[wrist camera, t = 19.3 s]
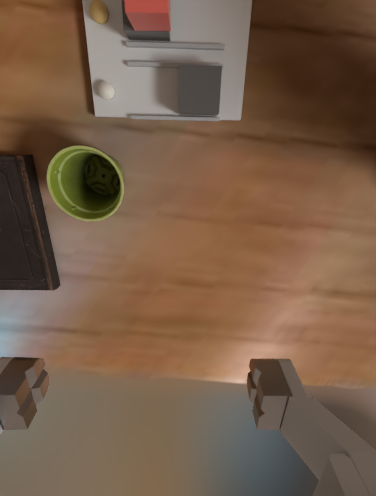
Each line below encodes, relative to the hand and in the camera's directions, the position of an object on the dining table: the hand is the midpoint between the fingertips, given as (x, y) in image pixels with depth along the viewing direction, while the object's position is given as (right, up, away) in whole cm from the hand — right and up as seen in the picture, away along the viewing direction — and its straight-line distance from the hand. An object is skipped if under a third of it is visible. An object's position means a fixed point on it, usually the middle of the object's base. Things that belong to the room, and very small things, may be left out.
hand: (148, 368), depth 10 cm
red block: (-2, +31, +18) cm, 36 cm away
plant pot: (-11, +16, +30) cm, 36 cm away
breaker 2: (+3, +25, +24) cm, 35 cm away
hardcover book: (-30, +9, +34) cm, 46 cm away
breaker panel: (-1, +30, +24) cm, 38 cm away
